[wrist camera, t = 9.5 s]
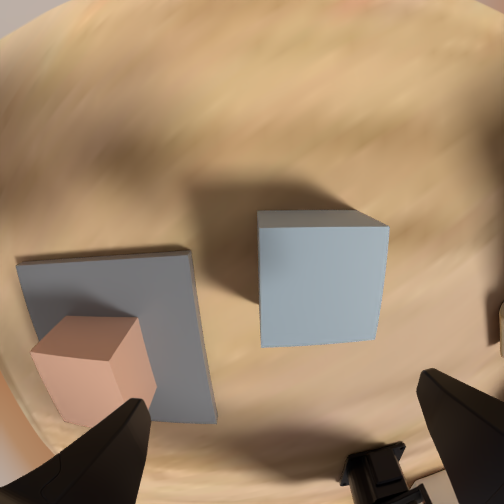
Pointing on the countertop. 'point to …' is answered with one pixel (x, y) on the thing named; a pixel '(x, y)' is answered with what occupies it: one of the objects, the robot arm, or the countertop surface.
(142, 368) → the terracotta brick
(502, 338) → the pounding bench toy
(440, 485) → the medicine bottle
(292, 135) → the countertop surface
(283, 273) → the slate-grey brick
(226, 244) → the countertop surface
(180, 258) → the base plate
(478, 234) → the countertop surface
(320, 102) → the countertop surface
